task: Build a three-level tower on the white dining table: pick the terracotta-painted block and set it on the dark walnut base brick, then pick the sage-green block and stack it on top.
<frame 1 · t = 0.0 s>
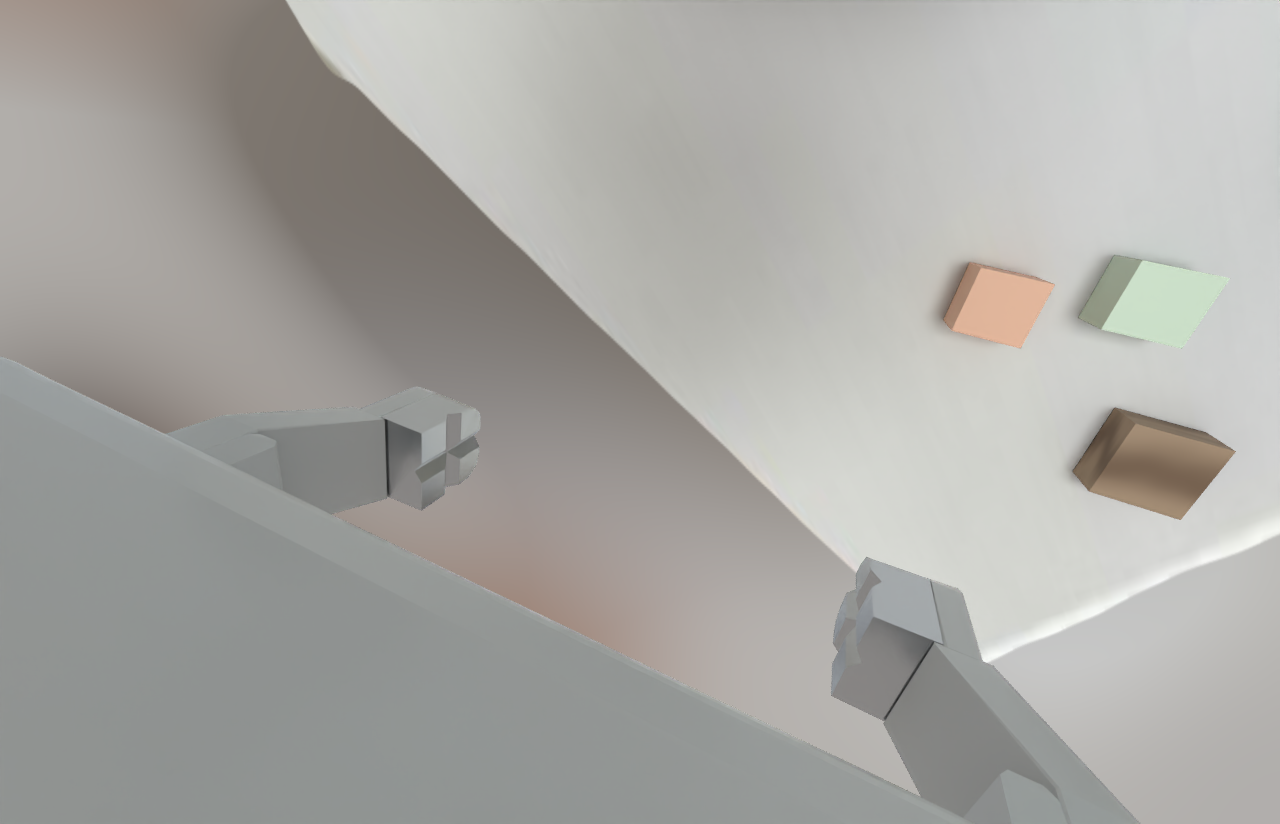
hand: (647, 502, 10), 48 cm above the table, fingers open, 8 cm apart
sage block: (1131, 295, 44), on the table
walnut base: (1136, 453, 47), on the table
terracotta block: (987, 299, 48), on the table
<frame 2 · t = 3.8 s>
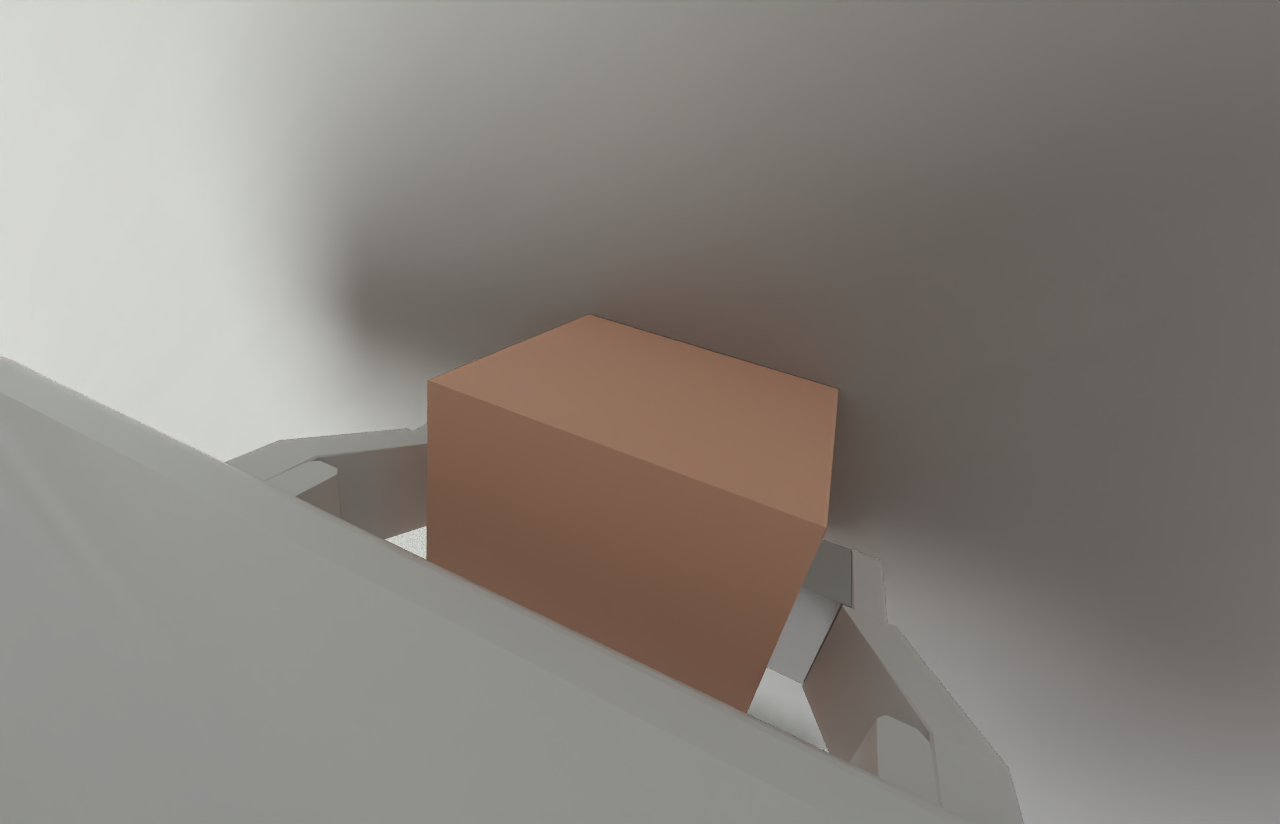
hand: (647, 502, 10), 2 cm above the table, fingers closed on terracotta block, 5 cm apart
terracotta block: (677, 460, 12), on the table, touching gripper
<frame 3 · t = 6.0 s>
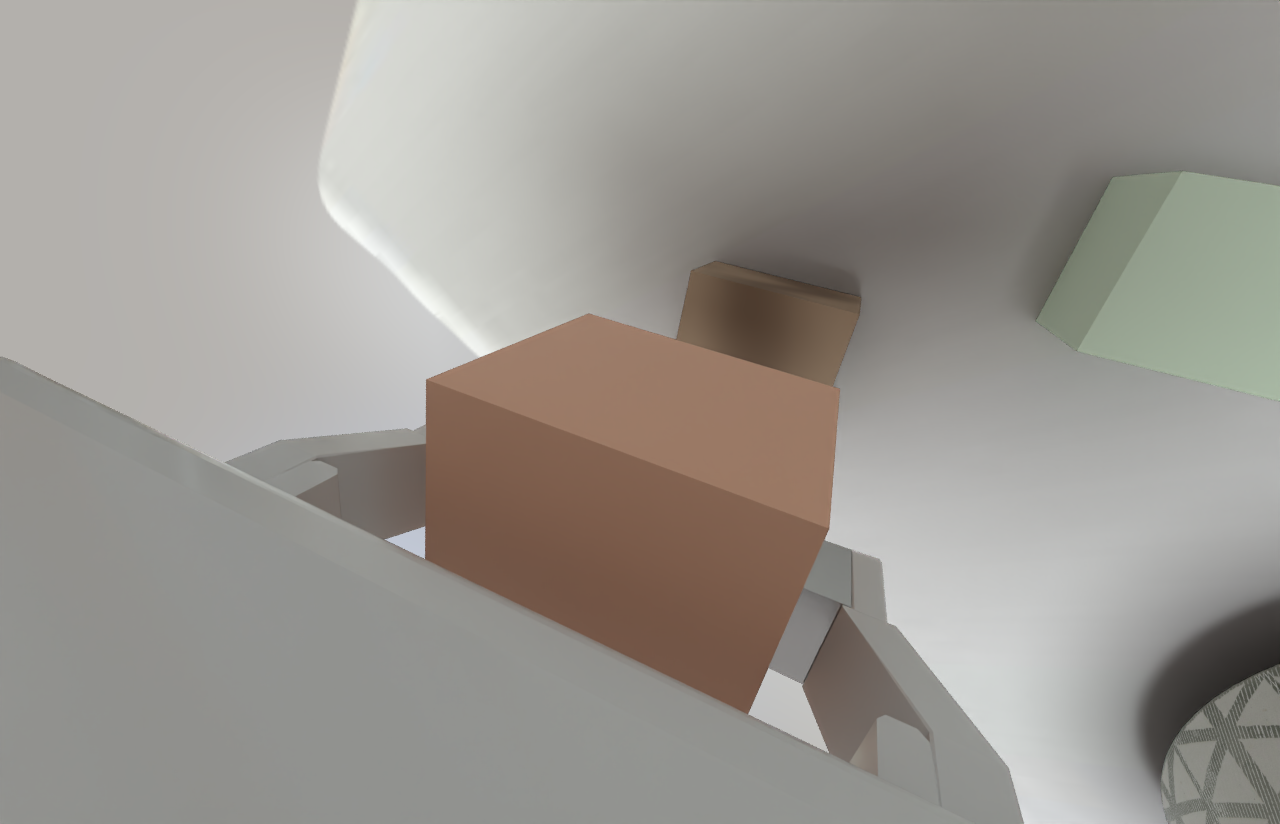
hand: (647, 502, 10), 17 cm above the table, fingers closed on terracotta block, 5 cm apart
sage block: (1154, 270, 19), on the table
walnut base: (764, 347, 26), on the table
terracotta block: (677, 460, 12), point 16 cm above the table, touching gripper
when the fingers open (7 cm above the table, at t = 8.4 s): terracotta block stays where it is, resting on walnut base.
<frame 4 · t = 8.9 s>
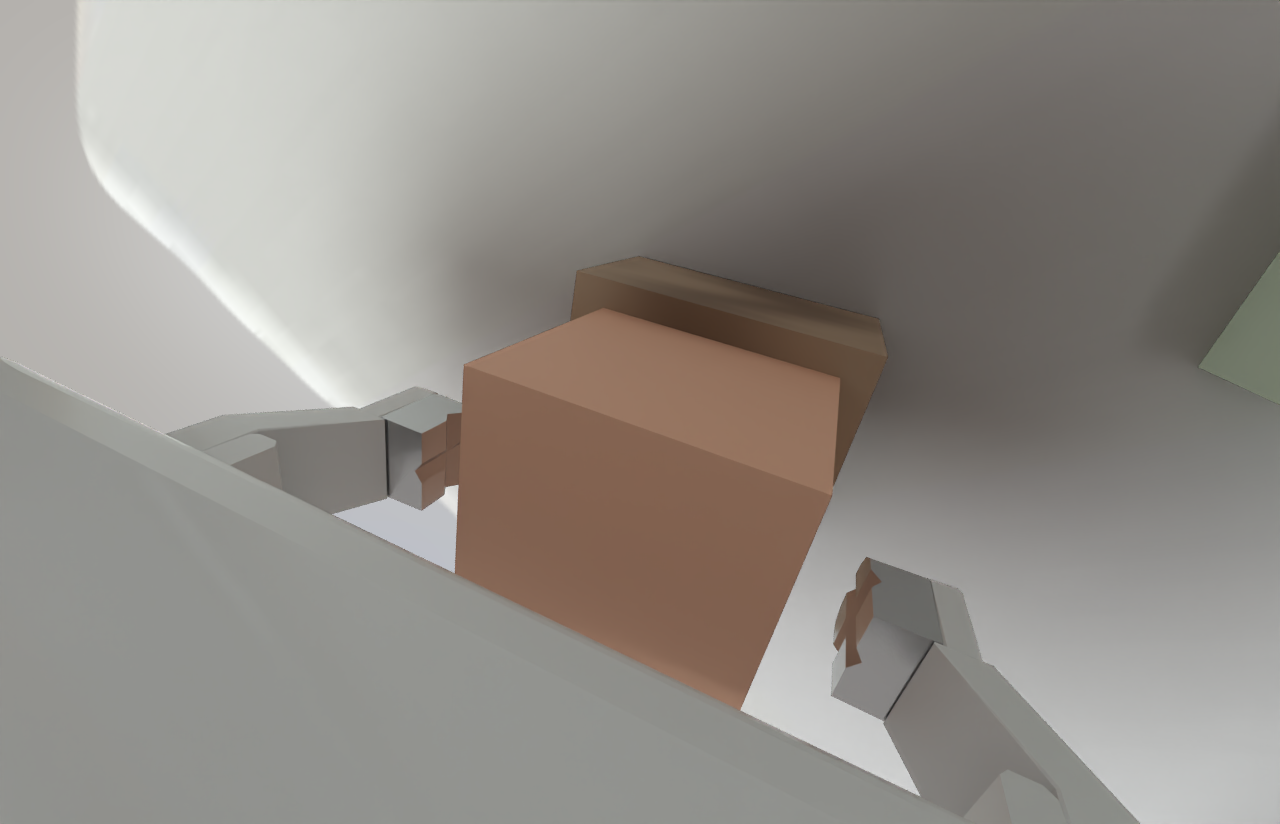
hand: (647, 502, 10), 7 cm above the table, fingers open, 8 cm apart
walnut base: (720, 396, 16), on the table
terracotta block: (686, 446, 13), point 4 cm above the table, touching walnut base
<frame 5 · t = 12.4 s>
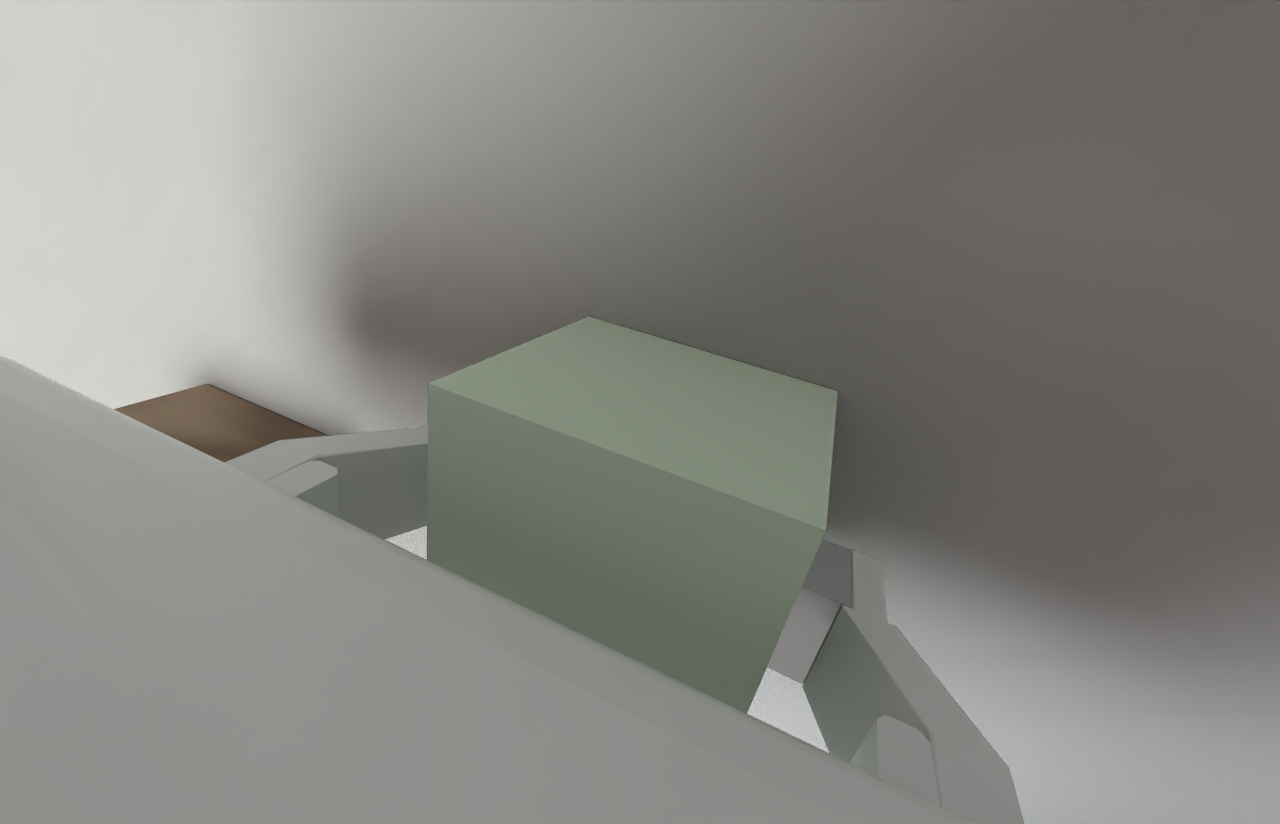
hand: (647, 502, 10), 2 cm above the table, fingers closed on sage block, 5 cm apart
sage block: (676, 461, 12), on the table, touching gripper
walnut base: (293, 502, 18), on the table
when the fingers open (12 cm above the table, at t = 16.8 s): sage block stays where it is, resting on terracotta block.
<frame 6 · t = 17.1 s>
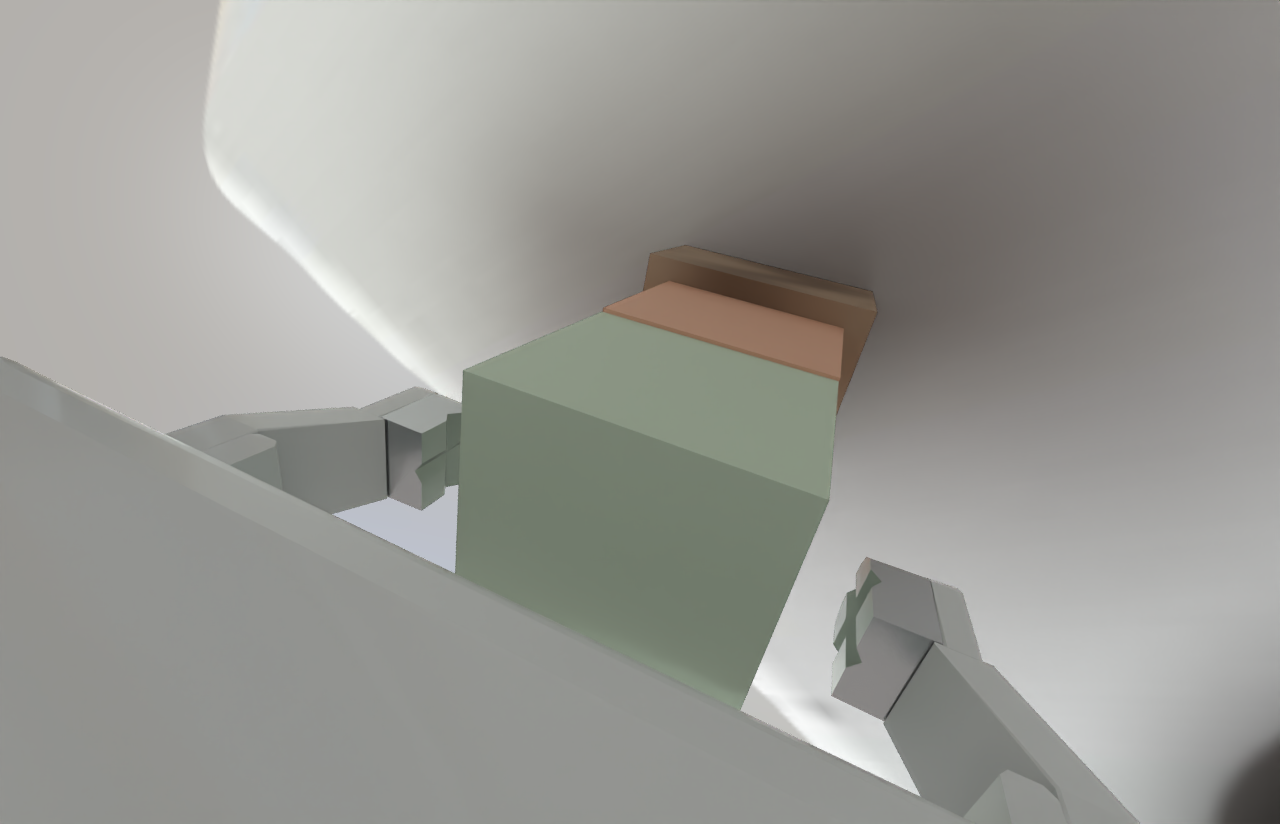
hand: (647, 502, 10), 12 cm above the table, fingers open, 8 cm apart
sage block: (685, 449, 13), point 9 cm above the table, touching terracotta block
walnut base: (748, 355, 20), on the table
terracotta block: (729, 384, 17), point 4 cm above the table, touching sage block, walnut base
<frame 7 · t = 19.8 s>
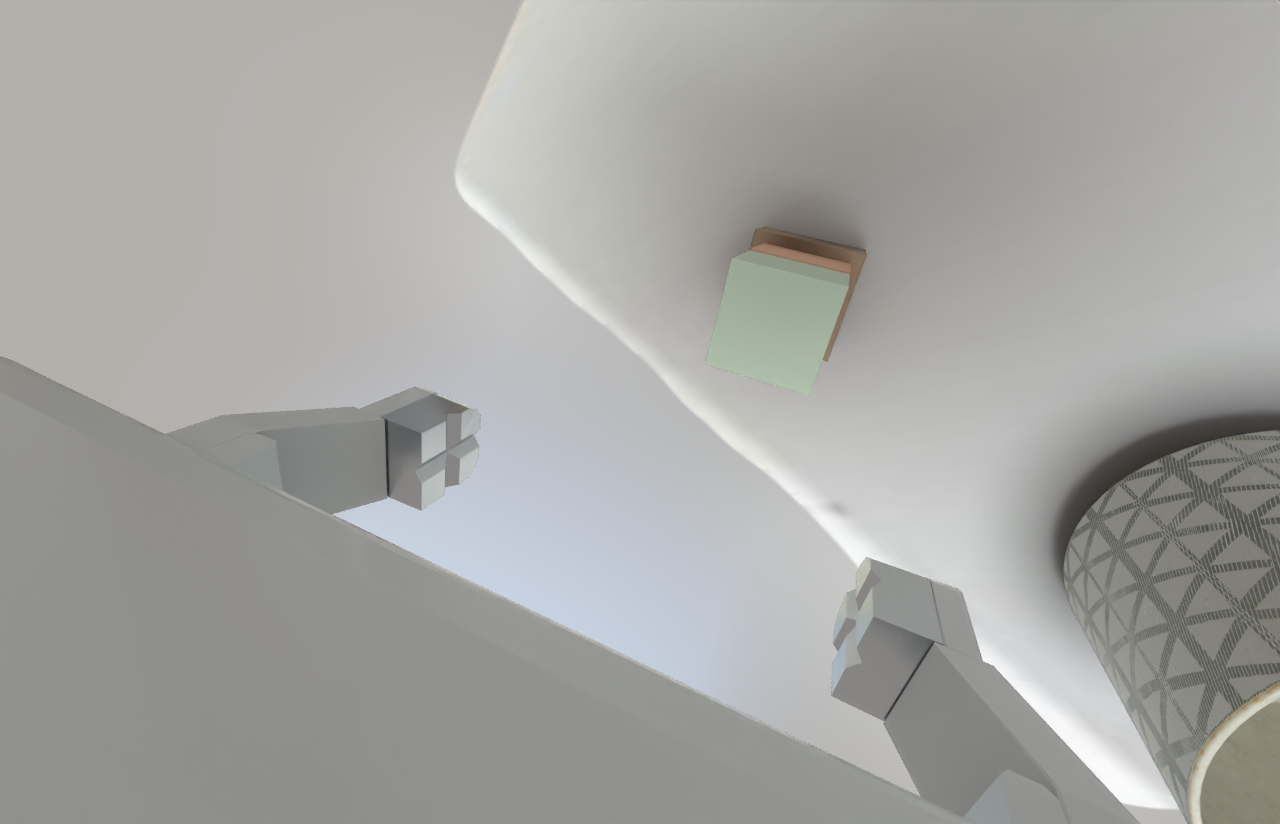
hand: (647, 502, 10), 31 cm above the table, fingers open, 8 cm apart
sage block: (783, 310, 29), point 9 cm above the table, touching terracotta block
walnut base: (797, 288, 37), on the table
planter: (1227, 545, 33), on the table
terracotta block: (792, 295, 34), point 4 cm above the table, touching sage block, walnut base
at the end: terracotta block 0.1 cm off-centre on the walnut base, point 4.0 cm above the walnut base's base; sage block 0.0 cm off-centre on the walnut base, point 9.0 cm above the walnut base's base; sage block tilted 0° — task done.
